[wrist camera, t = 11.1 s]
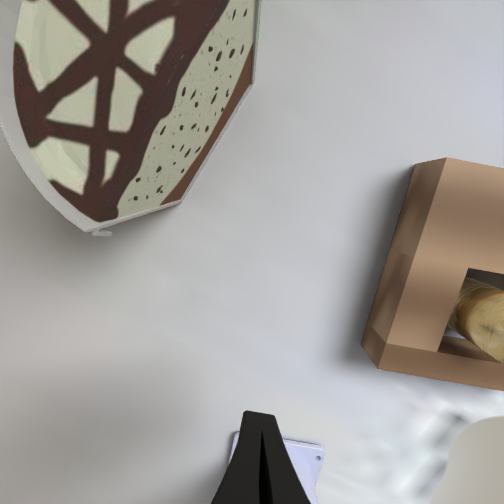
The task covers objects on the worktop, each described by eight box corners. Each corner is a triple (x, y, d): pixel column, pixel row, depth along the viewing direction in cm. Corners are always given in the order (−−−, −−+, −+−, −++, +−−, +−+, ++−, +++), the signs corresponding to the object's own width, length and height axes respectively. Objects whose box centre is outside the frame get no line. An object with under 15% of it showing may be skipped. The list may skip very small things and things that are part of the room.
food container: (185, -2, 16) (72, -315, 6) (267, 60, 17) (281, -135, 7) (96, 171, 18) (-90, 141, 8) (171, 219, 19) (78, 245, 9)
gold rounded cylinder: (475, 329, 20) (544, 371, 15) (425, 321, 20) (479, 361, 15) (493, 281, 19) (573, 310, 14) (441, 272, 19) (504, 298, 14)
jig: (516, 372, 21) (559, 400, 18) (360, 344, 21) (377, 368, 18) (596, 198, 18) (663, 199, 15) (415, 163, 18) (446, 157, 15)
